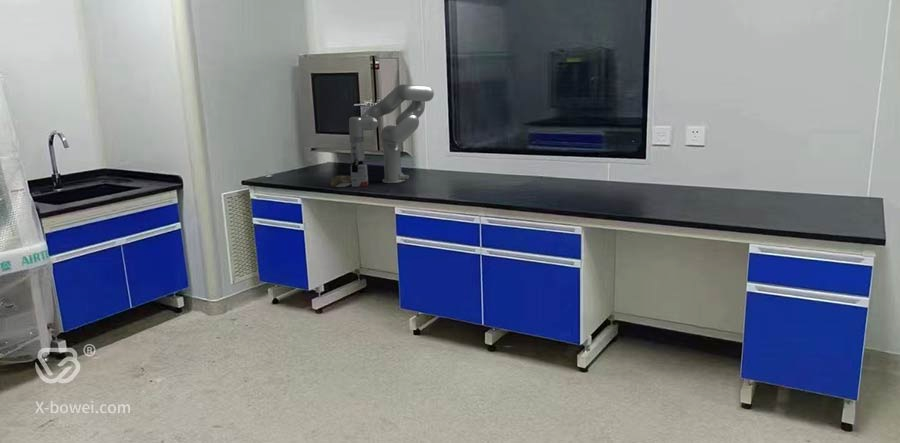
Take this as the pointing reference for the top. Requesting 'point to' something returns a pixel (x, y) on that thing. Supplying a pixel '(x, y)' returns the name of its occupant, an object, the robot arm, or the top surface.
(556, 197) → the top surface
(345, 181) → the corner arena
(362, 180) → the ink box
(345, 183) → the pad
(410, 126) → the robot arm
